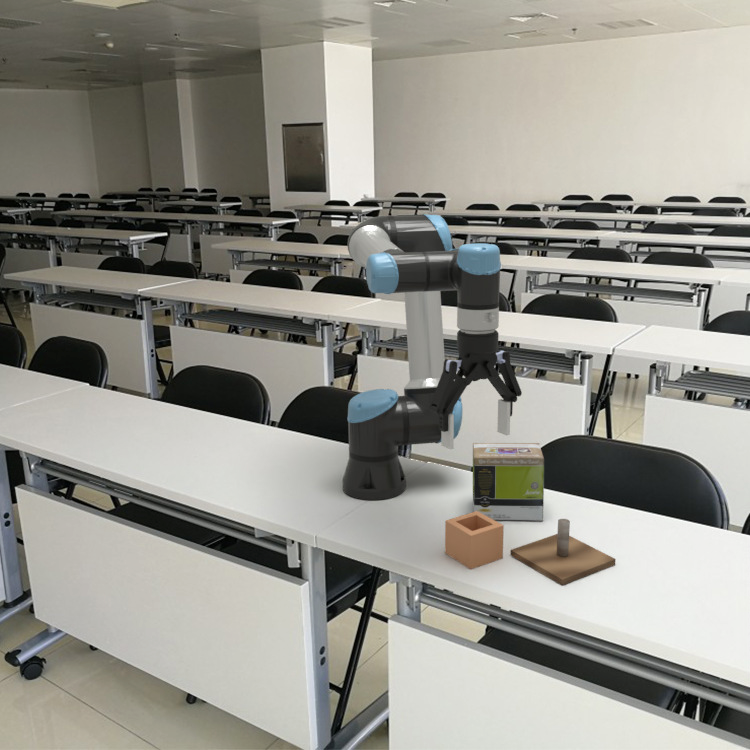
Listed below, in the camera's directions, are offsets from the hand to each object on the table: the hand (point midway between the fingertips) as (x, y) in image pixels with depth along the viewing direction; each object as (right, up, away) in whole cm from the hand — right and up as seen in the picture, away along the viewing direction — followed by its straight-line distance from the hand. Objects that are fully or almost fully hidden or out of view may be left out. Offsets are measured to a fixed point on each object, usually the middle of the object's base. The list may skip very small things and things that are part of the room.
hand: (476, 440), depth 151 cm
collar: (0, -23, +6) cm, 24 cm away
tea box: (+10, -18, +26) cm, 33 cm away
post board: (+17, -24, +4) cm, 29 cm away
